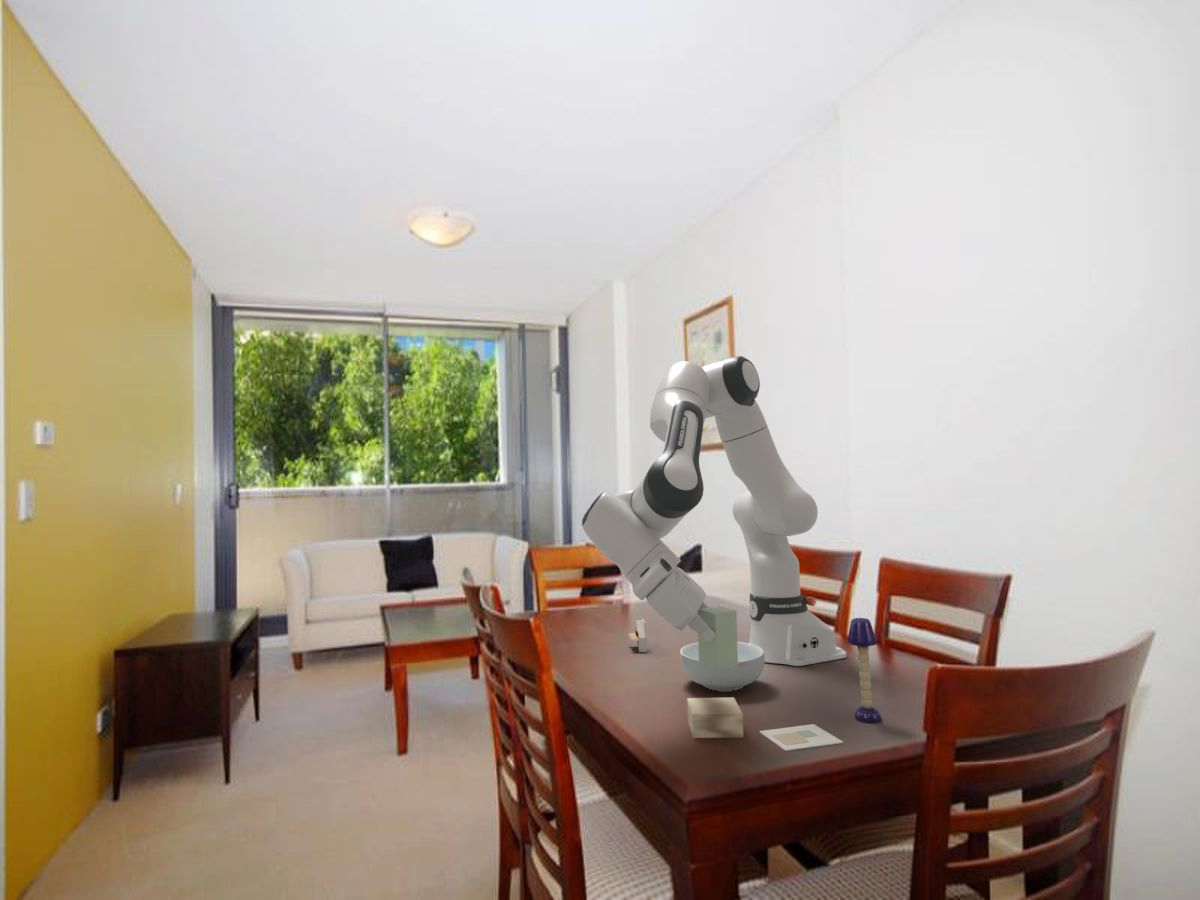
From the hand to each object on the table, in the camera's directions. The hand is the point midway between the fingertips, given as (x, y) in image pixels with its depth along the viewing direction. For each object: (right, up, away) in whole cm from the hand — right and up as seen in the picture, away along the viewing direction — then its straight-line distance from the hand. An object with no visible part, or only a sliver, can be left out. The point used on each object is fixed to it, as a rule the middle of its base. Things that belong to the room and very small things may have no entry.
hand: (715, 632), depth 112 cm
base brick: (0, -16, -1) cm, 16 cm away
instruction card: (+12, -15, -6) cm, 20 cm away
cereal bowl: (+5, -17, +22) cm, 29 cm away
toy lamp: (+26, -15, +2) cm, 30 cm away
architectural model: (-9, -19, +52) cm, 57 cm away
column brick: (0, -5, 0) cm, 5 cm away
